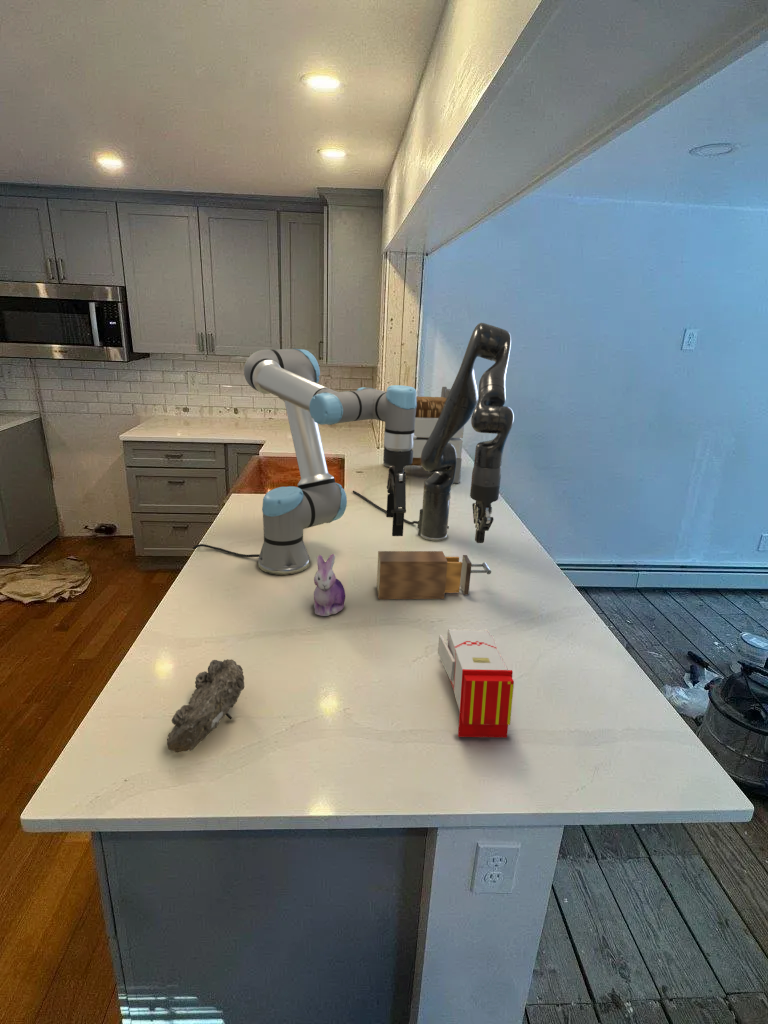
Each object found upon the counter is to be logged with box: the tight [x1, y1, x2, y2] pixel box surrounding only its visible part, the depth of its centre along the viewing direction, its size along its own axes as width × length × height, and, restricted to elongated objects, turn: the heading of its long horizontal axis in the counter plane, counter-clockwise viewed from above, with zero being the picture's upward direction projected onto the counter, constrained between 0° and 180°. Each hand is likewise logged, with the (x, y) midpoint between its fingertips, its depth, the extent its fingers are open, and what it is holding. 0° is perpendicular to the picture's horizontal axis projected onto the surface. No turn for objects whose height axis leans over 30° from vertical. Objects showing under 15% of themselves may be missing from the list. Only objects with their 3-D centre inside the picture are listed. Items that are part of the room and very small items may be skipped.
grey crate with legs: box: [383, 386, 465, 484], centre depth 268 cm, size 34×33×41 cm
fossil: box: [166, 658, 245, 754], centre depth 106 cm, size 22×10×15 cm
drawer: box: [445, 554, 492, 596], centre depth 158 cm, size 23×6×10 cm, turn 96°
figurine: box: [313, 553, 346, 617], centre depth 146 cm, size 9×10×15 cm
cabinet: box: [376, 550, 447, 600], centre depth 157 cm, size 18×7×11 cm, turn 96°
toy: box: [437, 628, 515, 738], centre depth 117 cm, size 12×13×30 cm
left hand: (394, 525), depth 151 cm, fingers open, 13 cm apart
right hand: (479, 542), depth 155 cm, fingers closed
